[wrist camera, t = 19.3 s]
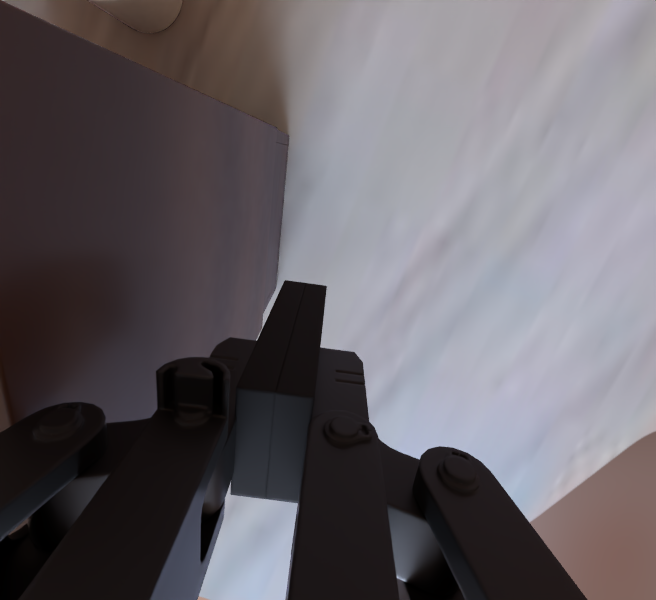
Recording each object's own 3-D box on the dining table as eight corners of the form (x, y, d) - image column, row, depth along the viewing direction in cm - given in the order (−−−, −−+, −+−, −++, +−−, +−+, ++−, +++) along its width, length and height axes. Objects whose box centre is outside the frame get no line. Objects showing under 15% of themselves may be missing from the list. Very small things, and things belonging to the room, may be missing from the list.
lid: (36, 705, 8) (71, 709, 8) (-168, -53, 4) (-86, -42, 4) (251, 326, 28) (261, 328, 28) (264, 125, 23) (277, 127, 23)
